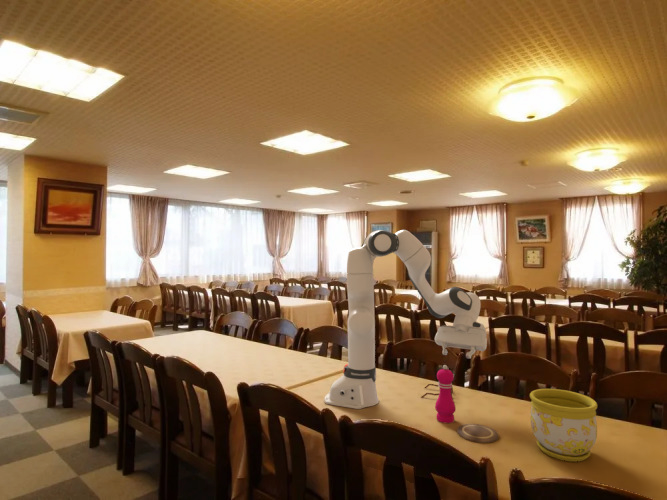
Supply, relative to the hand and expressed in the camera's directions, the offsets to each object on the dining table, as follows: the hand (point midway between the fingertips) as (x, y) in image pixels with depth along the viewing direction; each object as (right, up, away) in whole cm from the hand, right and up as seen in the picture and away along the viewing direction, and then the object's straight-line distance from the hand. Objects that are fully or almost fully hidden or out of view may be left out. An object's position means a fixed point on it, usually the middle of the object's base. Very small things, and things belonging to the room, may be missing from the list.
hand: (456, 355), depth 157 cm
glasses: (-3, -22, +18) cm, 28 cm away
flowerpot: (+22, -21, -34) cm, 46 cm away
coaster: (0, -21, -22) cm, 30 cm away
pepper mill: (-7, -21, -10) cm, 24 cm away
